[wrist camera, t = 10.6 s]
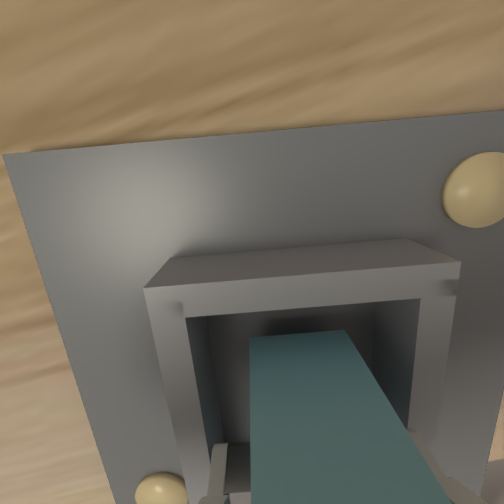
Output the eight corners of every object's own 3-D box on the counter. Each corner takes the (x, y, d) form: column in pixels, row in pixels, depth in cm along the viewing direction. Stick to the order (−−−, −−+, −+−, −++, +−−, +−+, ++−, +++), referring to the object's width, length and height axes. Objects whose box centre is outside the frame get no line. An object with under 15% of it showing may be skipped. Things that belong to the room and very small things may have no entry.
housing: (535, 110, 12) (699, 76, 7) (464, 480, 18) (530, 575, 14) (25, 156, 12) (-98, 147, 8) (131, 505, 18) (96, 607, 14)
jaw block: (344, 329, 11) (485, 558, 5) (343, 439, 13) (444, 722, 6) (249, 337, 11) (252, 576, 5) (260, 445, 13) (272, 735, 6)
